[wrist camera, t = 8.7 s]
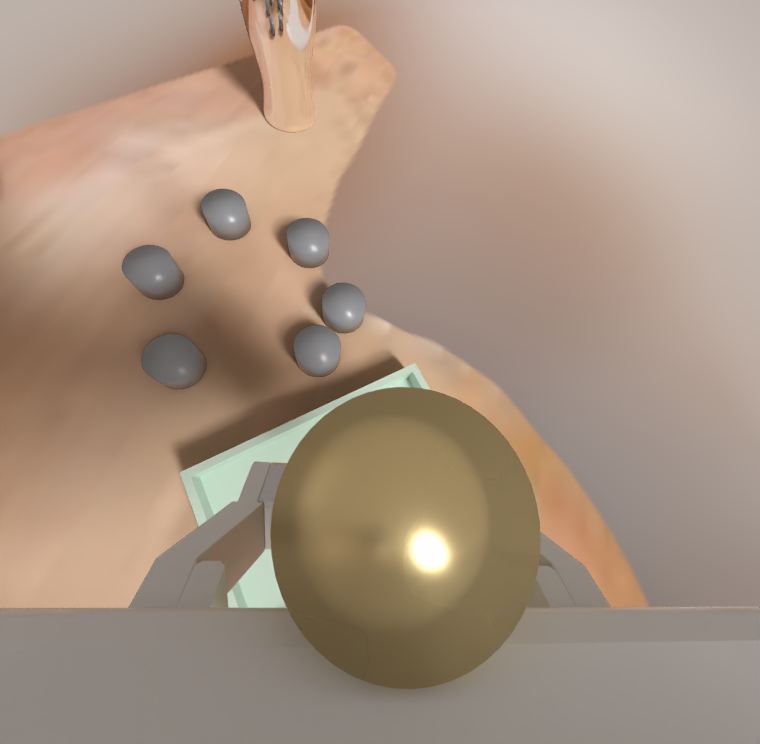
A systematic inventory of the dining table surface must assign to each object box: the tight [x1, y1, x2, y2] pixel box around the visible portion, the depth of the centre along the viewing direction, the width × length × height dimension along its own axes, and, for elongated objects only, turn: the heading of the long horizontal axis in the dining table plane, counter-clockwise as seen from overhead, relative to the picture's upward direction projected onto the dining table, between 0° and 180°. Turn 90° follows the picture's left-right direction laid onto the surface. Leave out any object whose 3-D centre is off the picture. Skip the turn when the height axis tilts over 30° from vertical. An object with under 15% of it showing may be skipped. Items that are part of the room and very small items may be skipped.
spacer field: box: [122, 189, 366, 389], centre depth 31 cm, size 19×21×2 cm
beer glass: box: [239, 0, 316, 132], centre depth 34 cm, size 7×7×15 cm
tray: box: [180, 363, 430, 608], centre depth 27 cm, size 20×14×3 cm
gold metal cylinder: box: [270, 387, 541, 689], centre depth 12 cm, size 4×4×13 cm
